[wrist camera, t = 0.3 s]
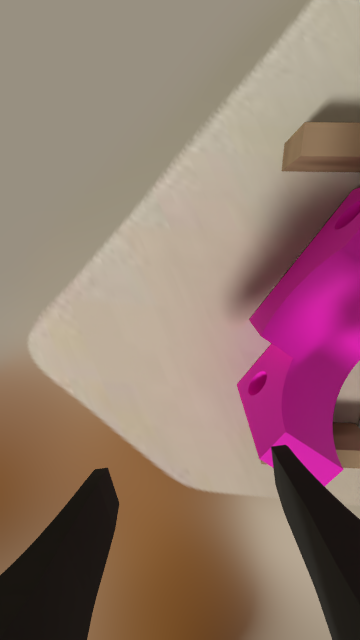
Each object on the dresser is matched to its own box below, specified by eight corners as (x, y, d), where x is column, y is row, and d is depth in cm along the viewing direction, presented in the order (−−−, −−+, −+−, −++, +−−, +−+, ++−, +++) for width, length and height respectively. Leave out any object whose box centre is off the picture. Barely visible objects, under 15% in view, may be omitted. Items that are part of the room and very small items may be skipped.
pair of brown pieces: (419, 145, 16) (470, 123, 13) (351, 439, 22) (375, 469, 19) (284, 143, 16) (304, 122, 13) (252, 435, 22) (261, 464, 19)
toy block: (352, 189, 17) (472, 149, 10) (424, 248, 18) (585, 251, 10) (210, 367, 21) (219, 434, 13) (274, 409, 21) (315, 494, 14)
